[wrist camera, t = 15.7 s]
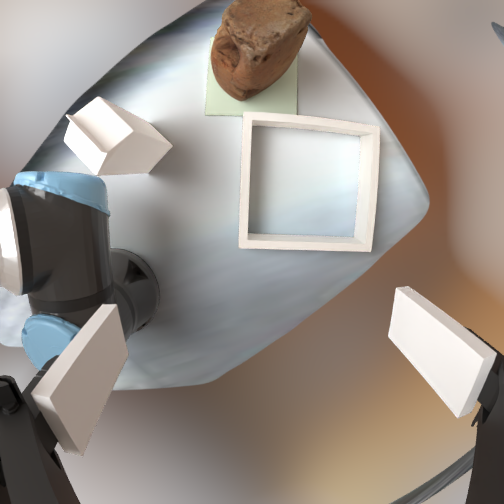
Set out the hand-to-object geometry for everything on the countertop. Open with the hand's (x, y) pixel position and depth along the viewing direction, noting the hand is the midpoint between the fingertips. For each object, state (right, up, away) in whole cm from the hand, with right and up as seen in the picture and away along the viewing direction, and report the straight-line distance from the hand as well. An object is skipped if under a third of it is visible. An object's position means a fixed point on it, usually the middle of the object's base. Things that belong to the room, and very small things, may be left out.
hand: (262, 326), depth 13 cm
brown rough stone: (-1, +31, +28) cm, 41 cm away
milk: (-17, +20, +31) cm, 40 cm away
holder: (+8, +14, +33) cm, 37 cm away
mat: (0, +31, +28) cm, 42 cm away
